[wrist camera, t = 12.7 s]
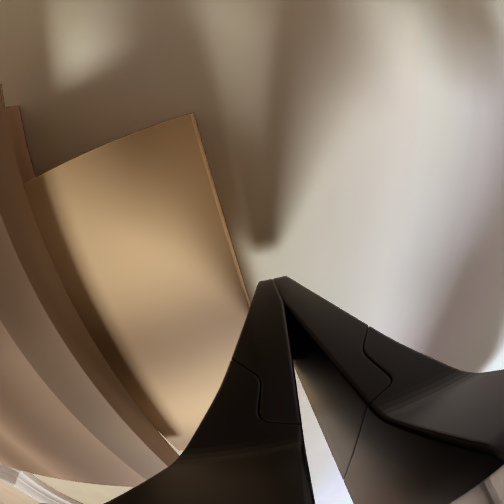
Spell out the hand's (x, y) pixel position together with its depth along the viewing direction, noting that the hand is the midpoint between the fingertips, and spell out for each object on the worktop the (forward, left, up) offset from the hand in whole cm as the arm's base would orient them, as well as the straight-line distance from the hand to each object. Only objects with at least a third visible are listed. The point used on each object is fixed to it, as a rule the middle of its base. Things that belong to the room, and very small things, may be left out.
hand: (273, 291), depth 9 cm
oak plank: (+3, +1, -2) cm, 4 cm away
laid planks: (+11, 0, -1) cm, 11 cm away
